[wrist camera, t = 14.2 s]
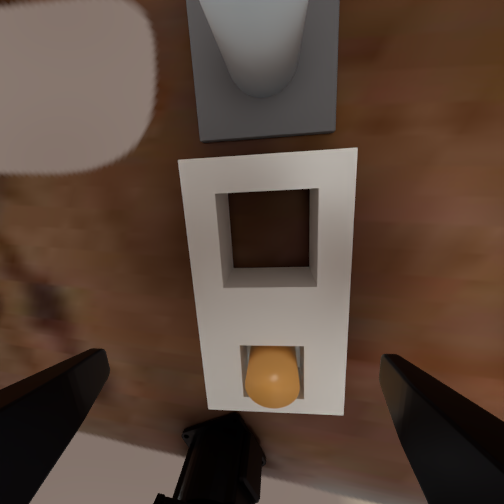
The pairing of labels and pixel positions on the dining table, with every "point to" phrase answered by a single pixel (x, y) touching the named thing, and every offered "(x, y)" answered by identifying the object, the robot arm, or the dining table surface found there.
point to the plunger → (272, 376)
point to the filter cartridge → (258, 41)
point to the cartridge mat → (274, 107)
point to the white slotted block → (272, 276)
